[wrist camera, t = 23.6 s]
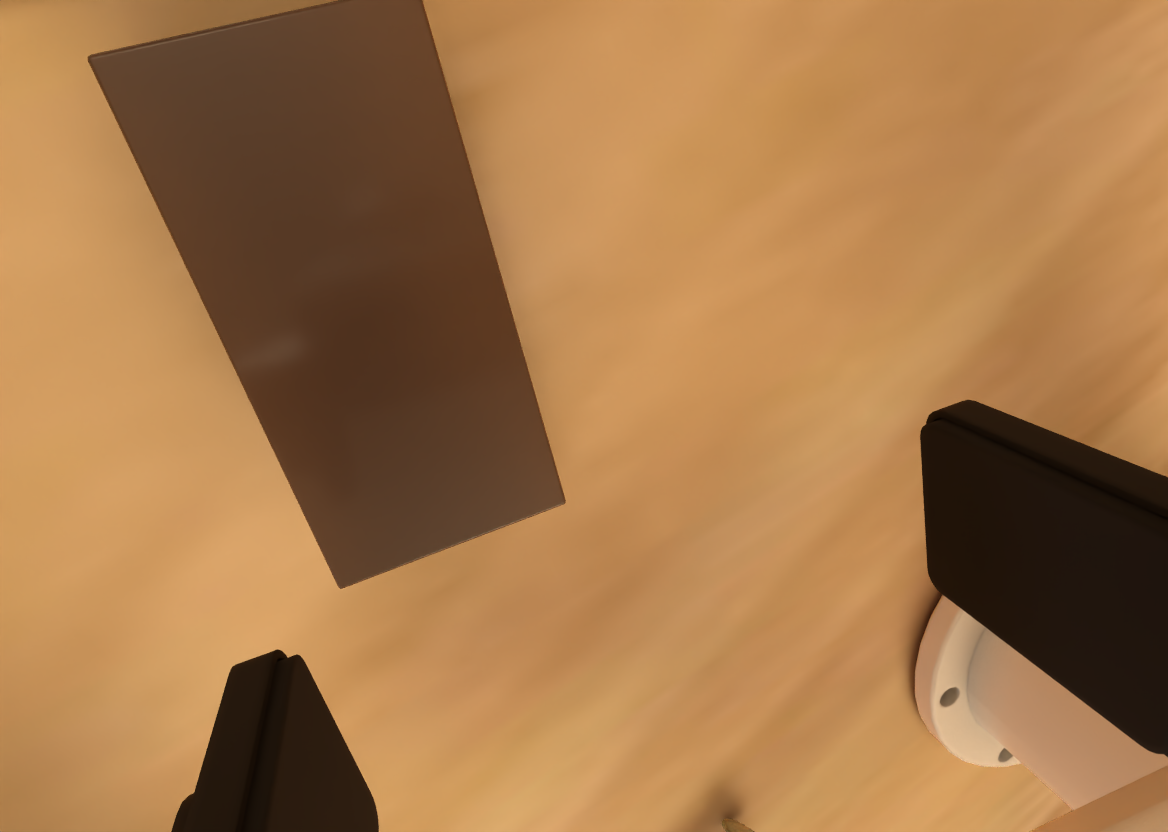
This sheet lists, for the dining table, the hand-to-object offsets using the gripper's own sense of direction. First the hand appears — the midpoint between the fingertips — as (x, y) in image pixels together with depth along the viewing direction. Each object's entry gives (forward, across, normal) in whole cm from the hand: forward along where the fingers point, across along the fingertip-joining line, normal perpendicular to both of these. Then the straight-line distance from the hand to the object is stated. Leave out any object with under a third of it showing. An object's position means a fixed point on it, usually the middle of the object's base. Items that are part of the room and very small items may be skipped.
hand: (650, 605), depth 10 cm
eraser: (+9, +3, -4) cm, 10 cm away
